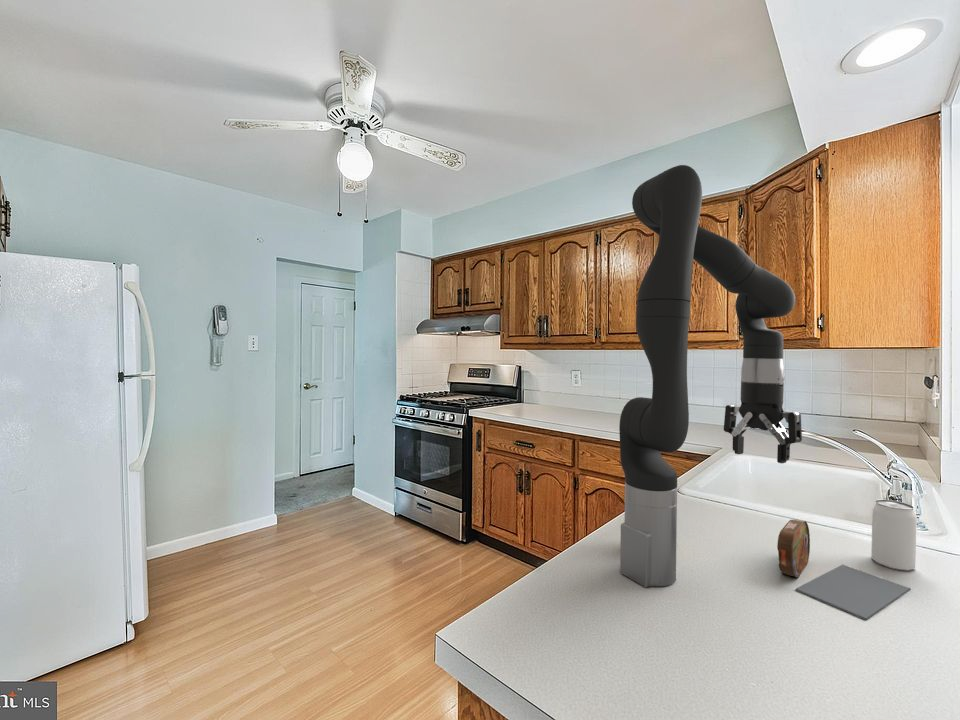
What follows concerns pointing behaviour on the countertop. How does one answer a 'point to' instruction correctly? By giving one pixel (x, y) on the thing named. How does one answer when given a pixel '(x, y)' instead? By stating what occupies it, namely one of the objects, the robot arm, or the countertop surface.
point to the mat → (853, 591)
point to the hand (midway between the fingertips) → (759, 458)
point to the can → (894, 535)
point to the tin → (793, 547)
